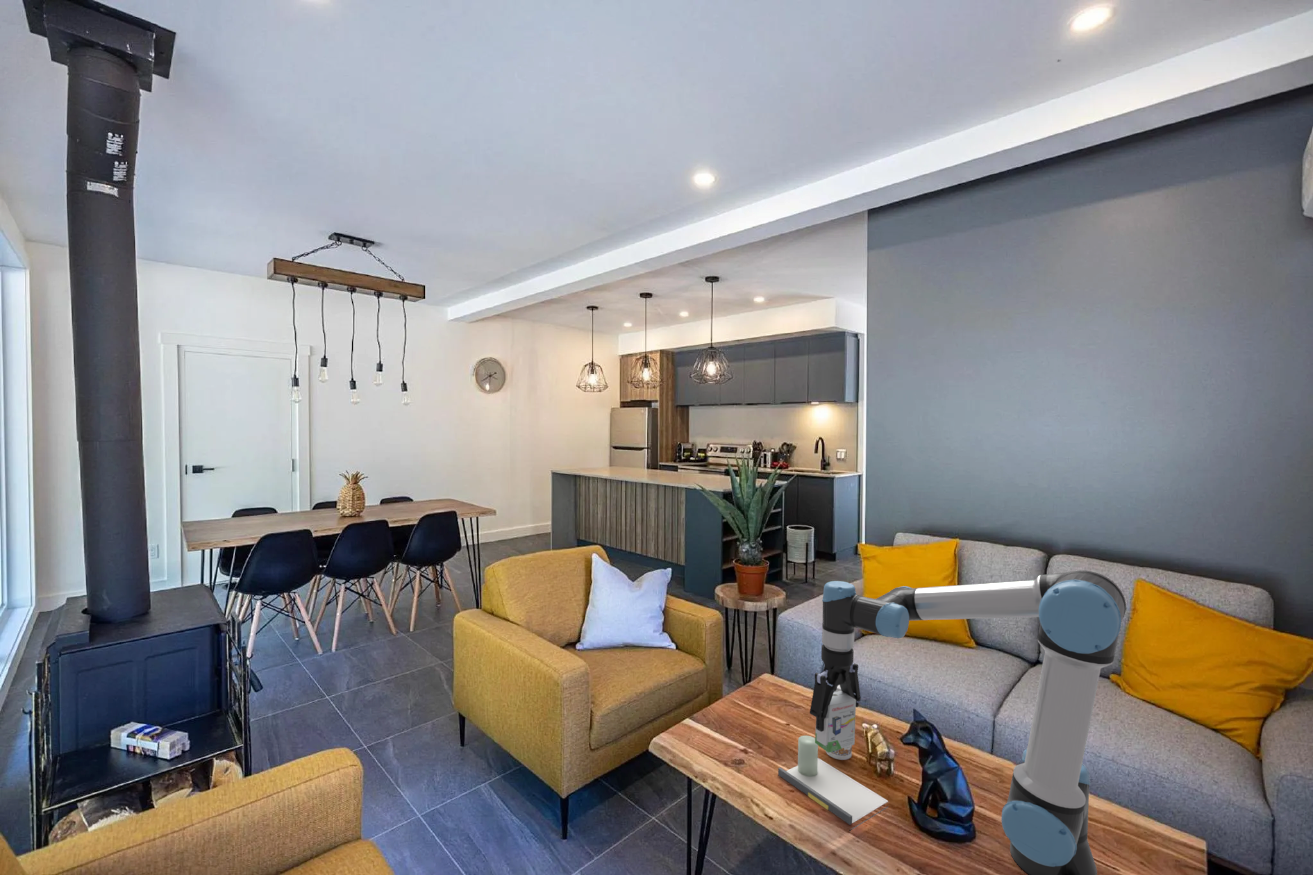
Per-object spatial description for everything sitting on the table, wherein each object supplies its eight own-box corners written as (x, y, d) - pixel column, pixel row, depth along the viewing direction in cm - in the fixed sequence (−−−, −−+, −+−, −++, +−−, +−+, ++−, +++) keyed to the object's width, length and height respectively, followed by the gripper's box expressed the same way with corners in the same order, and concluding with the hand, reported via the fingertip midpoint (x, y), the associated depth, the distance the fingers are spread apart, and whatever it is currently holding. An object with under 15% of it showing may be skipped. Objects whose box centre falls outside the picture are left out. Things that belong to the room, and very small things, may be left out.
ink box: (840, 735, 145) (841, 689, 145) (855, 746, 140) (857, 698, 140) (813, 742, 141) (815, 695, 141) (828, 753, 136) (829, 705, 136)
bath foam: (840, 767, 154) (842, 694, 154) (820, 755, 160) (821, 684, 160) (856, 759, 158) (858, 688, 158) (836, 747, 164) (838, 678, 163)
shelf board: (888, 807, 139) (888, 794, 139) (849, 831, 130) (849, 817, 130) (815, 761, 157) (816, 750, 157) (777, 780, 148) (777, 768, 148)
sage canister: (821, 772, 150) (822, 742, 149) (808, 778, 147) (809, 748, 147) (806, 762, 154) (807, 733, 154) (793, 768, 151) (794, 739, 151)
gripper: (852, 632, 149) (849, 717, 150) (795, 650, 137) (792, 742, 138) (877, 642, 143) (875, 730, 144) (820, 661, 131) (817, 758, 131)
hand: (835, 736), depth 141 cm, fingers closed on ink box, 9 cm apart
